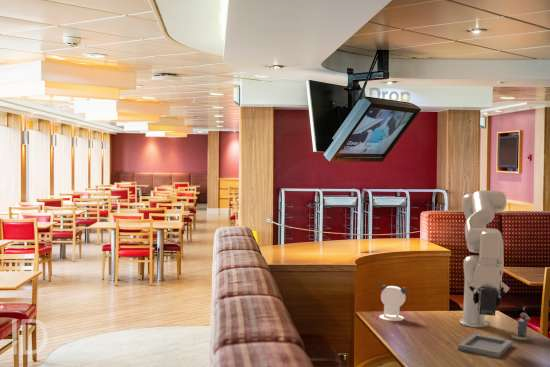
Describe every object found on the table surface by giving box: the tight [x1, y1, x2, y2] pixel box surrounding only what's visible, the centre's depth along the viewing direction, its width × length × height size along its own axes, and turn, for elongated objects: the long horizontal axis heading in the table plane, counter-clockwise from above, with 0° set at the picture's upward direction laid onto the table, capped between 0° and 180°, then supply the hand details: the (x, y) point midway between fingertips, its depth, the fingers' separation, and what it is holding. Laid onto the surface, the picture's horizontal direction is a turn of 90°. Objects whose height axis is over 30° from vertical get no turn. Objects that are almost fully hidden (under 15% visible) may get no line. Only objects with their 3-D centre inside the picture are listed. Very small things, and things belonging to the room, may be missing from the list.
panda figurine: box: [379, 284, 408, 322], centre depth 310 cm, size 12×11×15 cm
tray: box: [457, 333, 513, 359], centre depth 267 cm, size 20×16×2 cm
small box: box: [477, 287, 497, 317], centre depth 266 cm, size 11×6×10 cm, turn 168°
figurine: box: [510, 312, 533, 344], centre depth 280 cm, size 8×8×12 cm
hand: (486, 304), depth 266 cm, fingers closed on small box, 8 cm apart
